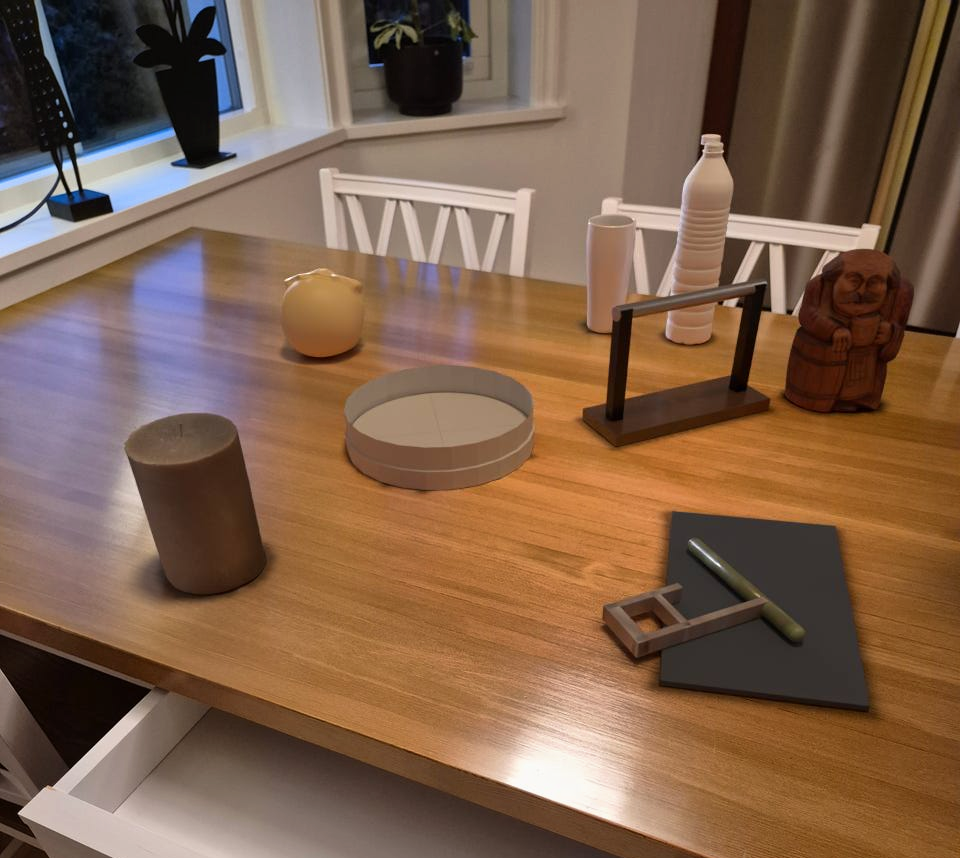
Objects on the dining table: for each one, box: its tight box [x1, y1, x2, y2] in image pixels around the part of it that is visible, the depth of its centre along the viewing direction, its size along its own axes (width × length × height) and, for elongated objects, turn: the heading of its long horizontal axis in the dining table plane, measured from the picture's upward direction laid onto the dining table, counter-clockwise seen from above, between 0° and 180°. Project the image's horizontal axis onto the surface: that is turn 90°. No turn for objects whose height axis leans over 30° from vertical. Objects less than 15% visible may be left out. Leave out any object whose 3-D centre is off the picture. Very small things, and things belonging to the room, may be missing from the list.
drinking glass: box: [585, 213, 637, 334], centre depth 124 cm, size 7×7×15 cm
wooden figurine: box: [784, 248, 915, 413], centre depth 102 cm, size 12×6×18 cm, turn 86°
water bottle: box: [665, 133, 734, 345], centre depth 119 cm, size 9×6×25 cm
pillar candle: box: [123, 412, 267, 595], centre depth 79 cm, size 10×10×15 cm
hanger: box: [601, 538, 805, 658], centre depth 75 cm, size 16×2×14 cm
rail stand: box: [581, 278, 771, 448], centre depth 102 cm, size 8×22×15 cm, turn 114°
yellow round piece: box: [279, 267, 365, 358], centre depth 121 cm, size 11×12×11 cm
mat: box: [658, 510, 871, 712], centre depth 77 cm, size 26×16×1 cm, turn 168°
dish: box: [343, 364, 536, 491], centre depth 100 cm, size 22×22×5 cm
